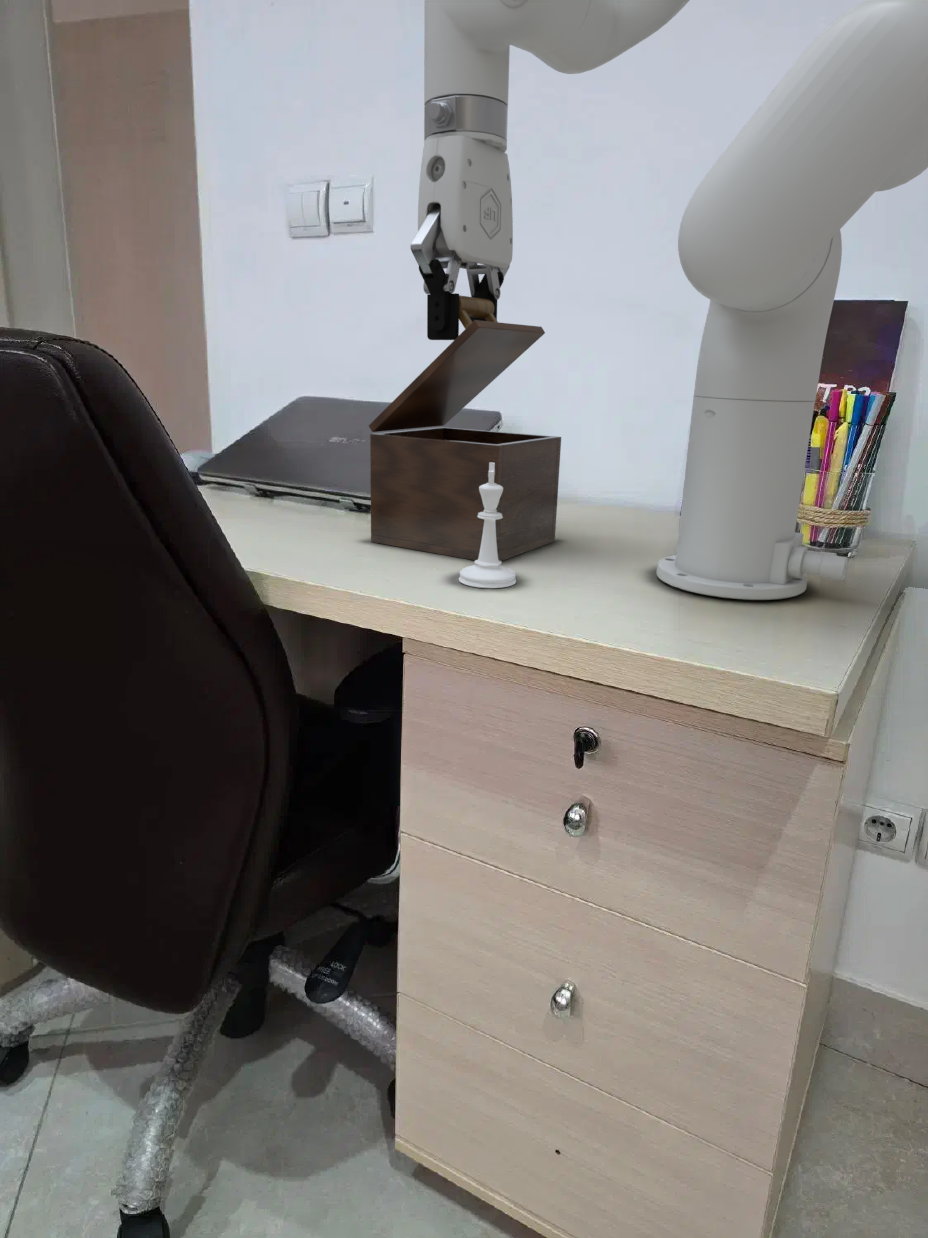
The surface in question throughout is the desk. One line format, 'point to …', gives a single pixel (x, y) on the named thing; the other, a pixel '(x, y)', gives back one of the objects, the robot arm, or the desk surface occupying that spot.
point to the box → (462, 489)
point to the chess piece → (488, 543)
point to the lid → (459, 369)
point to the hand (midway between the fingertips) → (462, 339)
